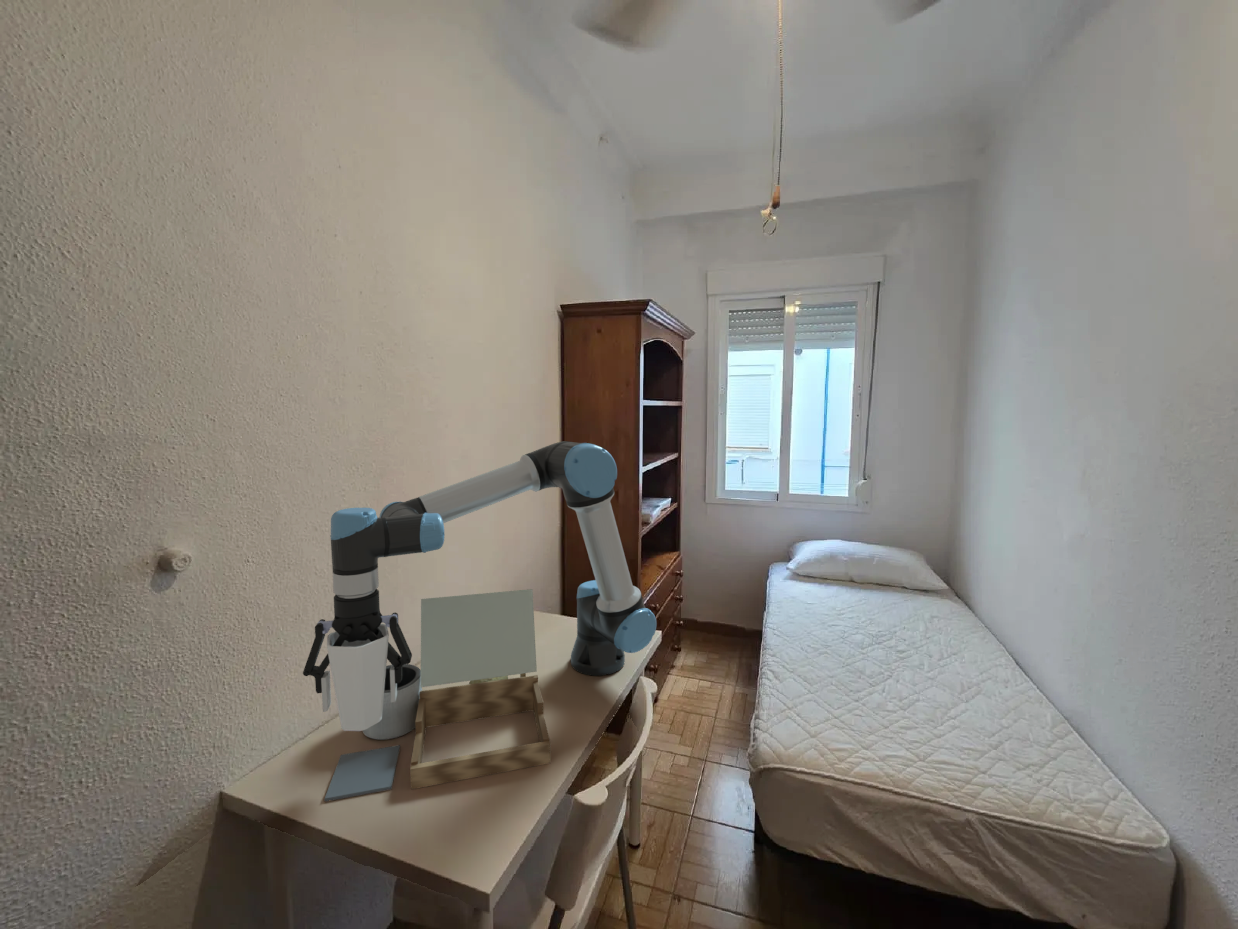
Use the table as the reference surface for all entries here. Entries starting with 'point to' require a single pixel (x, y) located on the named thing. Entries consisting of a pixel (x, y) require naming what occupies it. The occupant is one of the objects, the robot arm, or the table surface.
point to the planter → (398, 705)
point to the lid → (477, 637)
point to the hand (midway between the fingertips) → (361, 703)
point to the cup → (359, 679)
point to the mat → (363, 773)
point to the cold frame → (471, 706)
